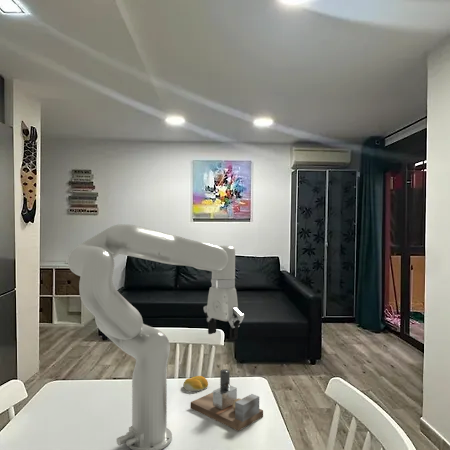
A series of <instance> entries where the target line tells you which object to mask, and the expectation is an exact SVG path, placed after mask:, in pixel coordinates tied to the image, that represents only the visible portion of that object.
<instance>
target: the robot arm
mask: <svg viewBox="0 0 450 450" xmlns="http://www.w3.org/2000/svg"><path fill="white" fill-rule="evenodd" d="M119 255H123V256H128V257H132V258H133V257H134V258H139V259H143V260H147V261H152V262H157V263H161V264H167V265H174V266H185V267H192V268H194V269H197V270H202V271H209V272H211V279H210V282H211V287H209V290H208V295H207V304H206V305H204V306H203V312H204V317H205V318H206V322H207V325H208V326H207V333H208V335H213V334H216V333H217V320H219V321H222V322H228V323H229V325H230V327H229V341H232V342H233V341H235V340H237V339H239V338H238V337H239V333H238V332H239V327H240V325H241V324H242V323H243V320H244V318H245V314H244V313H242V312H241V311H240V310H239V304H238V294H237V289H236V286H235V285H236V249H235V247H234V246H232V245H215V244H214V245H213V244H210V243H206V242H204V241H203V242H202V241H199V240H194V239H189V238H186V237H183V236H178V235H176V234H170V233H166V232H161V231H158V230H155V229H150V228H147V227H143V226H140V225H136V224H119V223H118V224H114V225H112V226H110V227H108V228H106V229H103V231H101V232H98V233H97V234H95V235H93V236H92V237H90V238H89V239H87V240H85V241H83V242H81V243H79V244H77V246H75V247H74V248H73V249H72V250H71V251H70V252H69V255H68V257H67V265H68V268H69V270H70V271H71V273H73V274H75V275H76V276H78V277H80V278H79V281H78V282H79V283H78V284H79V285H78V287H79V297H80V300H81V302H82V304H83V306H84V307H85V308H86V309H87V311H89V312H90V314H92V315H93V316H94V321H95V324H96V326H97V328H98V330H99V331H100V332H102V334H104V335H105V337H107V338H108V339H109V340H110V341H111V342H112V343H114V345H116V346H117V347H118V348H119V349H121V351H122V352H124V353H126V354H127V355H129V356H130V357H132V358H134V359H135V366H134V368H133V372H132V379H131V389H132V390H131V391H132V393H131V398H132V399H131V401H132V402H131V403H132V404H131V406H132V407H131V408H132V409H131V411H132V412H131V413H132V415H131V416H132V417H131V418H132V419H131V423H132V424H131V426H129V427H128V431H127V432H126V434H123V435H121V436H119V437H116V444H117V445H118V446H121V445H123V444H125V443H126V446H127V447H128V448H129V449H130V450H163V449H164V448H167V446H168V445H170V444H171V442H172V439H173V433H172V431H171V430H170V429H169V428H168V427H167V426H168V424H167V422H168V421H167V412H168V411H167V409H168V408H167V407H168V405H167V399H168V398H167V375H168V373H167V372H168V371H167V370H168V362H169V357H170V351H171V344H170V341H169V338H168V337H167V335H166V334H165V333H164V332H162V331H161V330H159V329H157V328H155V327H153V326H150V325H148V324H145V323H144V321H143V317H142V314H141V313H140V312H139V310H138V309H137V308H136V307H135V306H133V305H132V303H130V302H129V301H128V300H127V299H126V298H125V297H124V296H123V295H122V294H121V293H120V291H118V290H117V289H116V287H115V285H114V283H113V276H114V270H115V259H114V258H116V257H117V256H119Z"/></svg>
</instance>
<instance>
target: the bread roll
mask: <svg viewBox="0 0 450 450" xmlns="http://www.w3.org/2000/svg"><path fill="white" fill-rule="evenodd" d="M208 387H209V381H208V379H206V377H204V376H202V375H197V376H192V377H189V378H186V379H185V380H184V382H183V389H184V390H186V391H188V392H190V391H191V393H194V392H196V391H197V392H201V391H202V390H205V389H207V388H208Z"/></svg>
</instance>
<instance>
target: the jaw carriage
mask: <svg viewBox="0 0 450 450" xmlns="http://www.w3.org/2000/svg"><path fill="white" fill-rule="evenodd" d="M230 373H231V372H230V370H229V369H226V368H224V369H220V373H219V374H220V376H219V377H220V379H219V381H220V382H219V383H220V384H219V385H220V387H219V388H216V389H214V390H213V391H212V392H213V406H215V407H217V408H219V409H221V410H223V409H225V408H227V407H229V406H231V405H233V402H234V400H236V399H238V398H237V396H238V394H237V393H238V392H237V389H238V388H237V387H235V386H233V385H230V382H231V381H230V379H231V375H230Z"/></svg>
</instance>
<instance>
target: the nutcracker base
mask: <svg viewBox="0 0 450 450" xmlns="http://www.w3.org/2000/svg"><path fill="white" fill-rule="evenodd" d="M190 409H191V410H193V411H195V412H197V413H200V414H201V415H204V416H206V417H208V418H210V419H211V420H214V421H217V422H219V423H220V424H223V425H225V426H227V427H229V428H230V429H234V430H236V431H237V432H239V431H241V430H243V429H244V428H247V426H250V425H252V424H253V423H255V422H256V421H258V420H259V419H262V418H264V410H263V409H260V396H259V395H256V394H253V393H250V394H249V395H246V396H245V397H243V398H237V399H236V400H234V402H233V405H231V406H229V407H227V408H225V409H223V410H221V409H219V408H217V407H215V406H213V391H212V392H211V393H207V394H206V395H204V396H201V397H199V398H196V399H194V400H192V401H190Z"/></svg>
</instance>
